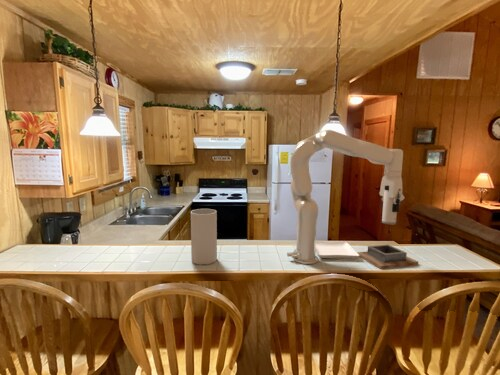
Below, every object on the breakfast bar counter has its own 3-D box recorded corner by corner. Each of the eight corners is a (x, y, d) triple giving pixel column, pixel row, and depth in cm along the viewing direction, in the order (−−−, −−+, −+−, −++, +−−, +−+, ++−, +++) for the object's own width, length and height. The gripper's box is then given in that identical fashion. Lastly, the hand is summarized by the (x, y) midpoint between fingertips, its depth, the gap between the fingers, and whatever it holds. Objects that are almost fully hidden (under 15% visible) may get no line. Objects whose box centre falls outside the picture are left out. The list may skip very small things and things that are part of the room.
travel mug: (399, 224, 134) (402, 184, 131) (385, 224, 134) (388, 184, 131) (392, 221, 140) (395, 182, 137) (379, 221, 140) (382, 182, 137)
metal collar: (384, 262, 132) (385, 255, 131) (367, 253, 144) (367, 246, 143) (405, 260, 135) (406, 252, 134) (387, 251, 147) (387, 244, 146)
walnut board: (380, 269, 128) (380, 266, 128) (356, 255, 145) (356, 252, 145) (418, 264, 134) (418, 261, 133) (390, 251, 151) (390, 249, 151)
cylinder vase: (203, 253, 145) (202, 207, 142) (221, 258, 139) (221, 210, 135) (186, 261, 134) (185, 212, 131) (205, 267, 128) (205, 215, 125)
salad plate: (360, 261, 138) (360, 255, 137) (318, 260, 138) (318, 254, 138) (346, 246, 159) (346, 241, 158) (309, 246, 159) (310, 240, 159)
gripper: (373, 173, 141) (371, 207, 143) (400, 176, 124) (397, 214, 127) (386, 172, 143) (383, 206, 145) (413, 175, 126) (410, 213, 129)
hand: (389, 210), depth 136 cm, fingers closed on travel mug, 6 cm apart
